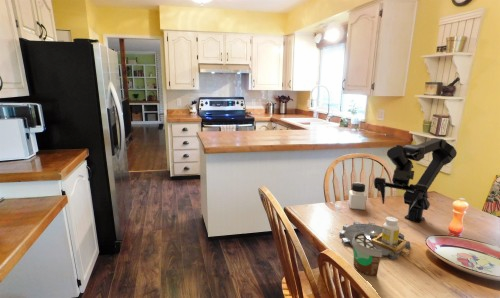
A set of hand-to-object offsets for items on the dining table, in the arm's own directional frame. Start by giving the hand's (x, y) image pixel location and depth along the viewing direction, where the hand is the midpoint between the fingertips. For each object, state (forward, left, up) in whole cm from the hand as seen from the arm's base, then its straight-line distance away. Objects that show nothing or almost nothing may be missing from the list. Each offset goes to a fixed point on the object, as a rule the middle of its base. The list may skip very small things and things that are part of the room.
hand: (396, 206), depth 110 cm
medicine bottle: (-17, -25, -14) cm, 33 cm away
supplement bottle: (+7, +2, -12) cm, 14 cm away
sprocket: (+8, -4, -13) cm, 16 cm away
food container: (+27, +2, -14) cm, 31 cm away
